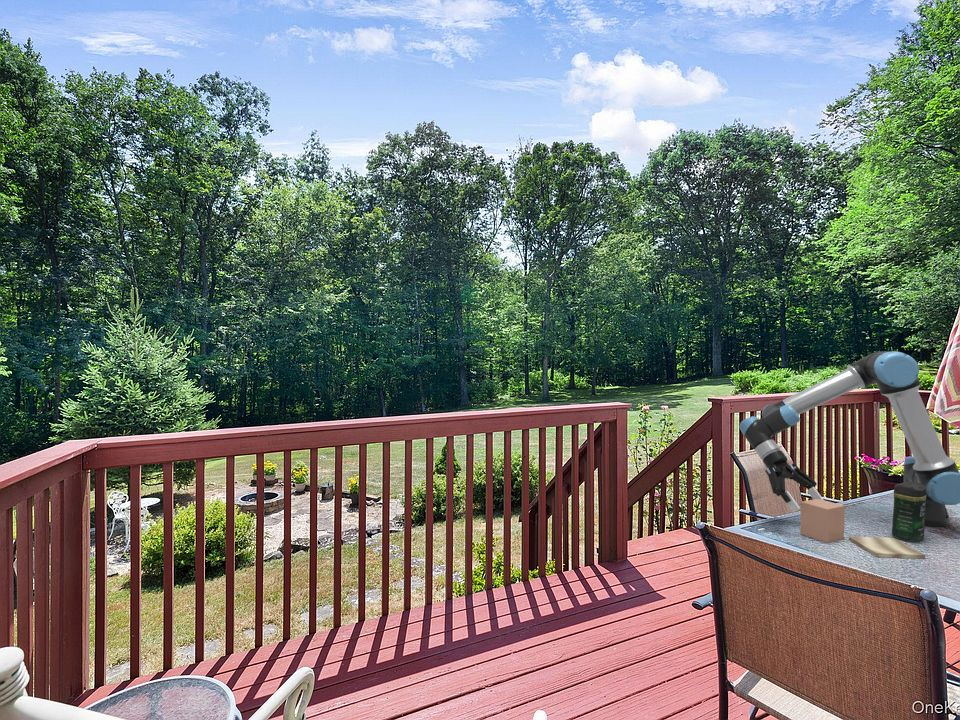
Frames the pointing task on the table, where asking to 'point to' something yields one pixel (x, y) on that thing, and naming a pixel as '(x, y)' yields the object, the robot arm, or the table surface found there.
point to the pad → (886, 547)
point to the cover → (822, 520)
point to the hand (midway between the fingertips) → (810, 507)
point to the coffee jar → (909, 511)
